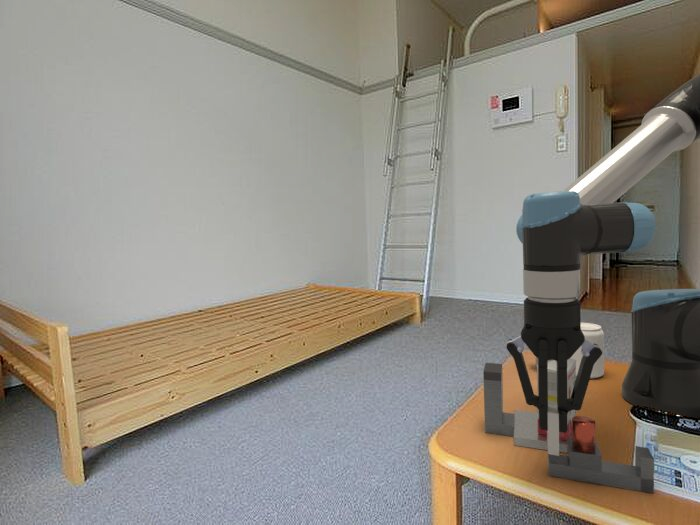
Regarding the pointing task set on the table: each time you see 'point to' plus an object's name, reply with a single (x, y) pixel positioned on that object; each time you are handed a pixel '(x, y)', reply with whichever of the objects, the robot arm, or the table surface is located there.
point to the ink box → (553, 392)
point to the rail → (610, 472)
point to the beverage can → (594, 336)
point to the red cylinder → (584, 445)
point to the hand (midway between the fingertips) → (553, 450)
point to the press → (510, 415)
